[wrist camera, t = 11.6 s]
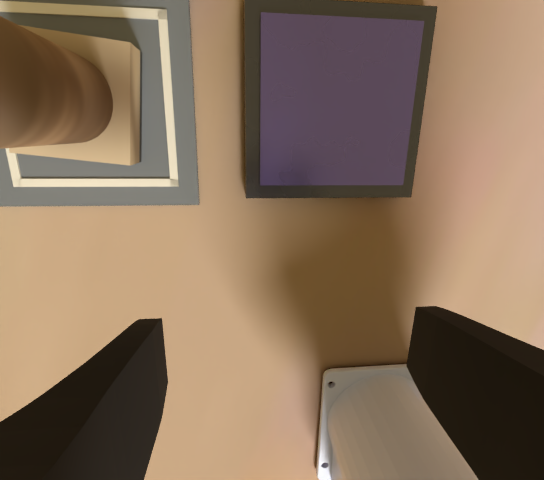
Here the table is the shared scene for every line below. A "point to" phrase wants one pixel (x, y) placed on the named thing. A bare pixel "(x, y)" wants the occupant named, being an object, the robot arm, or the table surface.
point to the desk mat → (155, 110)
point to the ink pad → (333, 97)
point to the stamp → (69, 95)
